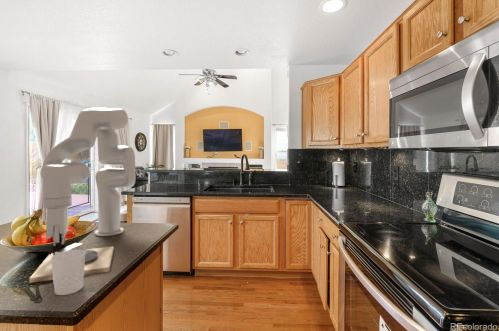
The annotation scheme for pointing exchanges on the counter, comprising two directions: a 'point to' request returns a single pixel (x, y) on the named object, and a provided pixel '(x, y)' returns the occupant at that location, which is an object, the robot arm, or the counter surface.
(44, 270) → the dial panel
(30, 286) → the counter surface
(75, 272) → the white cup
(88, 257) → the dial
